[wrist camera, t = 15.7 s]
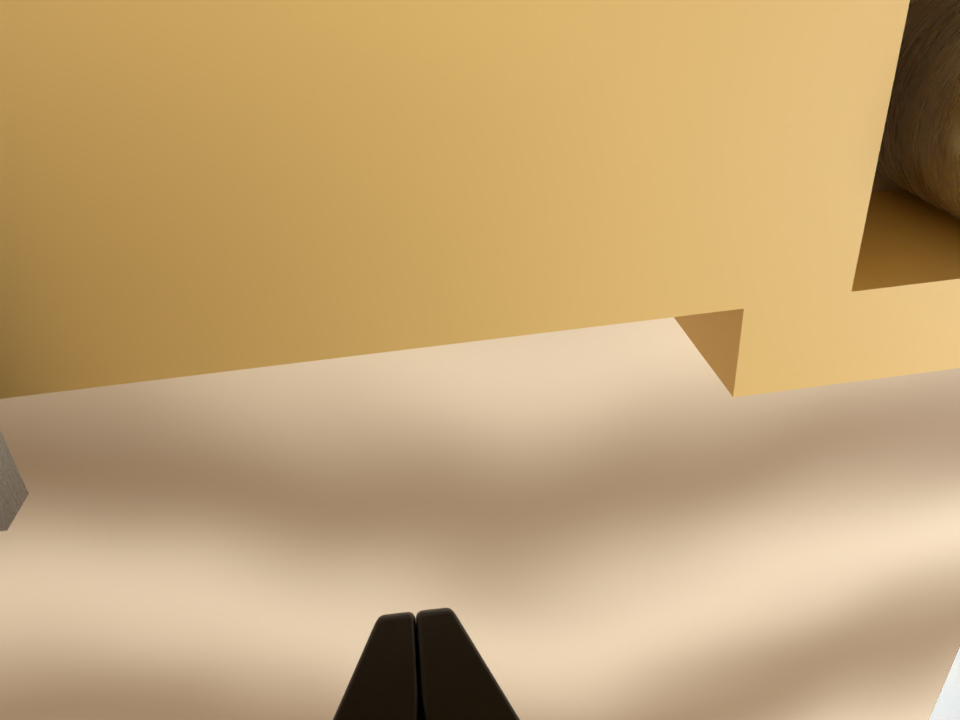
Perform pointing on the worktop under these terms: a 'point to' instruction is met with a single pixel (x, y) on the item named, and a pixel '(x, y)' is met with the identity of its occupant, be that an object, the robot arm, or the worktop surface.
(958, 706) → the worktop surface
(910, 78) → the pintle
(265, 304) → the link
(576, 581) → the board
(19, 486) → the keeper
